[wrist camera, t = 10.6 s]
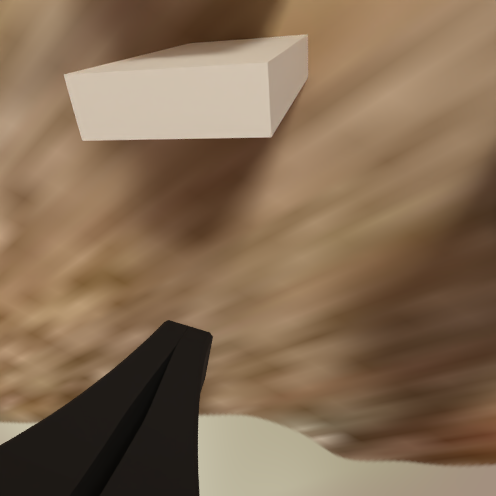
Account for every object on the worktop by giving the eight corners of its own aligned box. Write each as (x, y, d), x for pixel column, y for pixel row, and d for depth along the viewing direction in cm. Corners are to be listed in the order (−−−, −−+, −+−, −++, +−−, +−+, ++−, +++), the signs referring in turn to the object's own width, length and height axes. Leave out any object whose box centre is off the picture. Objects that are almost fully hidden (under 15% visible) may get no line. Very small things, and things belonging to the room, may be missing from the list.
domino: (308, 77, 17) (271, 137, 9) (195, 83, 18) (82, 140, 11) (307, 34, 16) (267, 62, 9) (189, 43, 17) (63, 74, 10)
